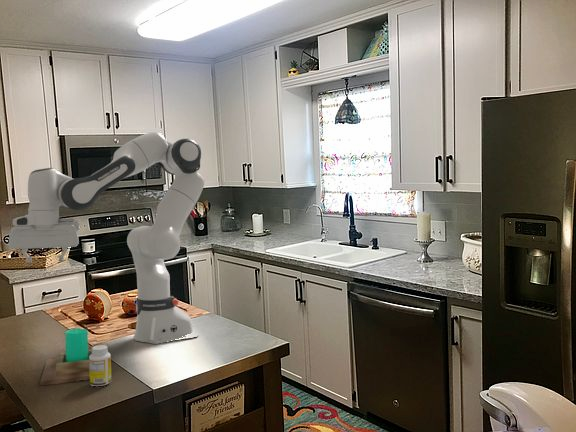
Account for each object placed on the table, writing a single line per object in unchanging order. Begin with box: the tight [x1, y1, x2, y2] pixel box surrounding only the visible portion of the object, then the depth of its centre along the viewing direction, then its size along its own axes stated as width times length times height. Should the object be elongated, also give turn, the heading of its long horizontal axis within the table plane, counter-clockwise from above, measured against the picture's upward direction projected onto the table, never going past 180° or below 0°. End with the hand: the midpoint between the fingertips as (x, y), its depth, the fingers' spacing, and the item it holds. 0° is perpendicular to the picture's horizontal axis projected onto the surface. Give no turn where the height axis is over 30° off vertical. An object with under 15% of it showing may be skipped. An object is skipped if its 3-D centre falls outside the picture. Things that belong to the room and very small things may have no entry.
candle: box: [64, 325, 89, 362], centre depth 151 cm, size 6×6×12 cm
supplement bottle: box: [89, 344, 112, 387], centre depth 141 cm, size 6×6×10 cm
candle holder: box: [39, 349, 92, 387], centre depth 151 cm, size 18×18×4 cm
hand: (45, 261), depth 167 cm, fingers open, 8 cm apart
